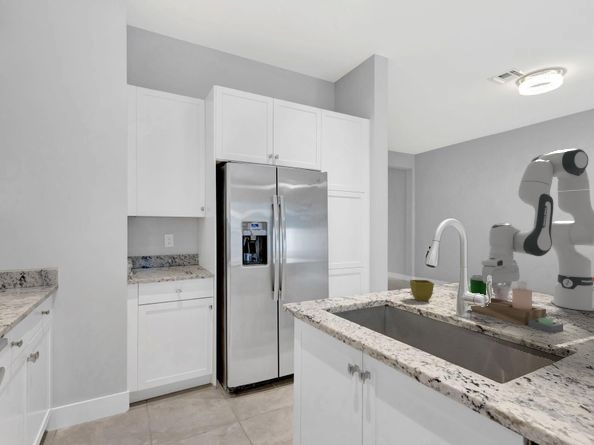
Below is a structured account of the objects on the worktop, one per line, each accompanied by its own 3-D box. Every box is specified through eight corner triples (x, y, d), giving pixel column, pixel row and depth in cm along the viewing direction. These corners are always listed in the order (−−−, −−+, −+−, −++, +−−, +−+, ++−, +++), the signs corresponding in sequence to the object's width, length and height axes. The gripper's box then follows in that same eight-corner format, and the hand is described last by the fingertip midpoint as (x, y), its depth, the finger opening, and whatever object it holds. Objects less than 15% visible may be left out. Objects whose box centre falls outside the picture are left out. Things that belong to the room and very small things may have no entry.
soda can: (490, 303, 152) (490, 277, 152) (473, 302, 154) (473, 276, 154) (484, 299, 160) (484, 275, 160) (468, 298, 161) (468, 274, 161)
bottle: (518, 316, 125) (518, 280, 126) (535, 320, 120) (535, 282, 120) (508, 318, 123) (509, 281, 123) (525, 322, 117) (525, 283, 118)
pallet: (488, 309, 140) (488, 296, 140) (545, 323, 120) (546, 308, 120) (468, 312, 134) (468, 299, 134) (524, 327, 114) (524, 312, 114)
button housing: (540, 327, 116) (540, 318, 116) (563, 332, 109) (563, 324, 109) (528, 329, 113) (528, 320, 113) (551, 335, 106) (551, 326, 106)
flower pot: (434, 302, 152) (434, 283, 152) (415, 301, 152) (415, 282, 153) (427, 298, 161) (427, 279, 161) (409, 297, 161) (409, 279, 161)
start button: (542, 327, 114) (542, 317, 114) (555, 330, 110) (555, 320, 110) (535, 328, 112) (535, 318, 112) (548, 332, 108) (548, 321, 108)
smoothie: (510, 310, 136) (510, 277, 136) (492, 308, 140) (492, 276, 140) (510, 307, 142) (510, 275, 141) (492, 305, 145) (493, 274, 145)
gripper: (509, 258, 148) (509, 289, 148) (478, 261, 139) (479, 293, 139) (523, 260, 142) (523, 291, 142) (493, 262, 133) (493, 296, 133)
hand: (501, 292), depth 141 cm, fingers open, 6 cm apart
